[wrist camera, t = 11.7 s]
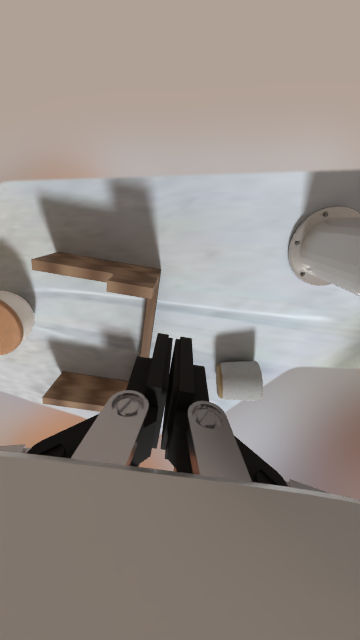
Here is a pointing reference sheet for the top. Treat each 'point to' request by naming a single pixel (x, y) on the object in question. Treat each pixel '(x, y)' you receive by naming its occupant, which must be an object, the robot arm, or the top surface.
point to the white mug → (239, 380)
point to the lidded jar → (14, 321)
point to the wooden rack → (119, 280)
